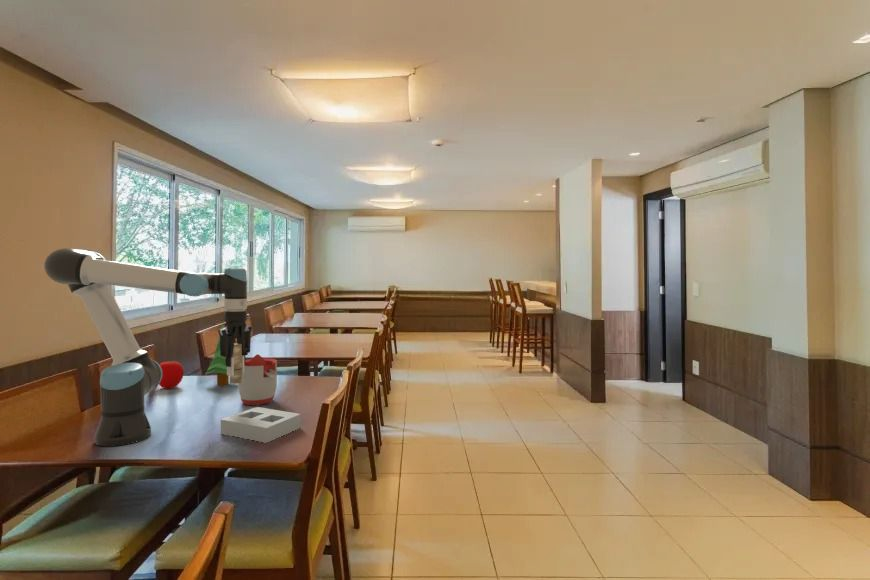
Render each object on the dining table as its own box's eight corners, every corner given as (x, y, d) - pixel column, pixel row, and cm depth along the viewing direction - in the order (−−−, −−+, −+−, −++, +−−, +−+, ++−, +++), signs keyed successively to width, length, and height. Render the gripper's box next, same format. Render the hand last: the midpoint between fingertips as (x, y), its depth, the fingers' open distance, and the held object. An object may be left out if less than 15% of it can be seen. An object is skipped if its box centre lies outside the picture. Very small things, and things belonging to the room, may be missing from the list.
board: (266, 443, 145) (266, 428, 145) (220, 434, 153) (220, 419, 153) (300, 428, 160) (300, 414, 160) (257, 420, 168) (257, 406, 168)
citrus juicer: (258, 410, 180) (257, 359, 180) (229, 403, 189) (228, 355, 188) (288, 400, 194) (288, 353, 193) (260, 395, 202) (260, 349, 202)
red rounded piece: (149, 389, 210) (149, 361, 210) (169, 384, 221) (169, 357, 220) (169, 391, 207) (168, 363, 206) (188, 386, 217) (188, 359, 217)
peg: (235, 384, 166) (235, 345, 166) (227, 382, 168) (227, 344, 167) (244, 381, 170) (244, 344, 169) (236, 380, 172) (236, 343, 171)
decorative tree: (200, 388, 213) (199, 323, 212) (217, 380, 229) (216, 320, 228) (228, 389, 212) (228, 324, 211) (244, 381, 228) (243, 320, 227)
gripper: (223, 312, 159) (223, 379, 159) (261, 309, 174) (261, 370, 175) (208, 311, 162) (208, 377, 162) (246, 308, 177) (246, 368, 178)
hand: (235, 373), depth 169 cm, fingers closed on peg, 4 cm apart
